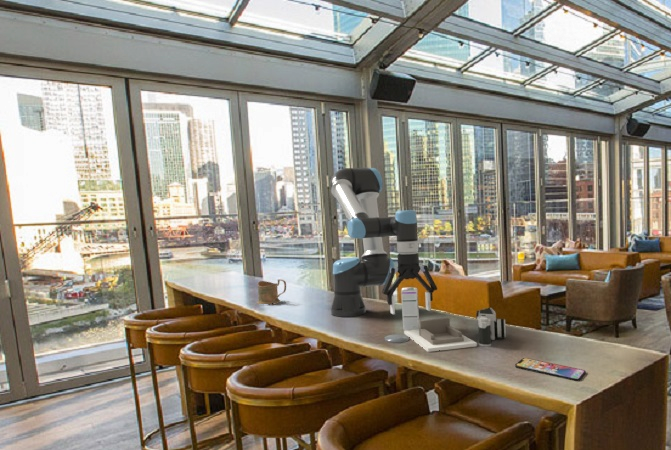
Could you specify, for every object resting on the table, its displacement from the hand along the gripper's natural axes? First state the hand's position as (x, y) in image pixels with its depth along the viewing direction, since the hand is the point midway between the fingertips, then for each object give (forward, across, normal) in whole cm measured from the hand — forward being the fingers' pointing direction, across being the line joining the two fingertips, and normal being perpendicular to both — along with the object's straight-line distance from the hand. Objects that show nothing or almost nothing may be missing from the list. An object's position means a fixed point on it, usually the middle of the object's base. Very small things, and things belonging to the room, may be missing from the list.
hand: (410, 311), depth 146 cm
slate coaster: (+7, -9, -10) cm, 15 cm away
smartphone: (+7, +19, -47) cm, 51 cm away
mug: (+5, -47, +67) cm, 82 cm away
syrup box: (+6, 0, 0) cm, 6 cm away
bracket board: (+6, +4, -15) cm, 16 cm away
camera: (+7, +19, -20) cm, 28 cm away
